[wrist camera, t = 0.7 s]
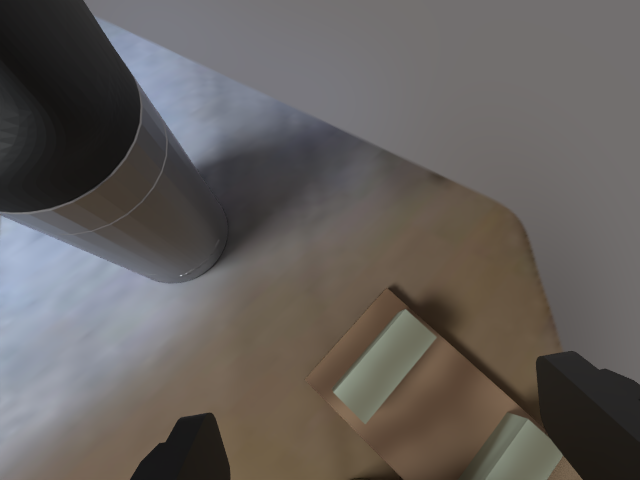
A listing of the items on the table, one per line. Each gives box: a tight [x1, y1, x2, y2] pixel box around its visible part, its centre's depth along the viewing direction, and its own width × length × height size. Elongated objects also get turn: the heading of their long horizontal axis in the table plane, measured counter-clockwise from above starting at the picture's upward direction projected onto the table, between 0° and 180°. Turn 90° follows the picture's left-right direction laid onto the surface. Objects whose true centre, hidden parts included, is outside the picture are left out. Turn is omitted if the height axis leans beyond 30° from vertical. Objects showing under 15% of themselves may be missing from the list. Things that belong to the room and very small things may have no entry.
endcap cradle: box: [305, 288, 563, 480], centre depth 28 cm, size 16×10×4 cm, turn 47°
